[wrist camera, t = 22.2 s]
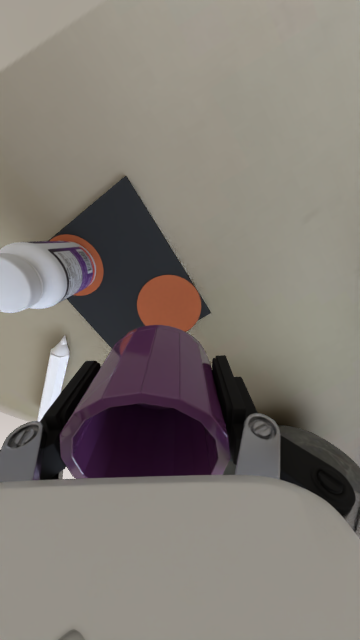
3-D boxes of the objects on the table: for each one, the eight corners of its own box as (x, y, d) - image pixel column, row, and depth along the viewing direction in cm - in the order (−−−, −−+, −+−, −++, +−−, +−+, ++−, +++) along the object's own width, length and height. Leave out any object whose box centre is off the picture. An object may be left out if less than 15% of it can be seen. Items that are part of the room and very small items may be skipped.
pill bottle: (45, 278, 22) (-46, 304, 13) (53, 232, 20) (-46, 226, 11) (91, 296, 23) (35, 333, 14) (103, 254, 21) (47, 265, 12)
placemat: (31, 256, 22) (28, 257, 21) (126, 176, 19) (125, 175, 18) (127, 363, 28) (126, 365, 27) (212, 314, 25) (212, 316, 24)
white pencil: (72, 329, 26) (54, 409, 32) (54, 327, 25) (38, 411, 30) (73, 340, 24) (54, 423, 30) (54, 339, 23) (37, 425, 29)
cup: (87, 357, 12) (21, 441, 7) (173, 304, 11) (168, 361, 6) (148, 419, 14) (131, 518, 9) (227, 381, 13) (257, 473, 8)
